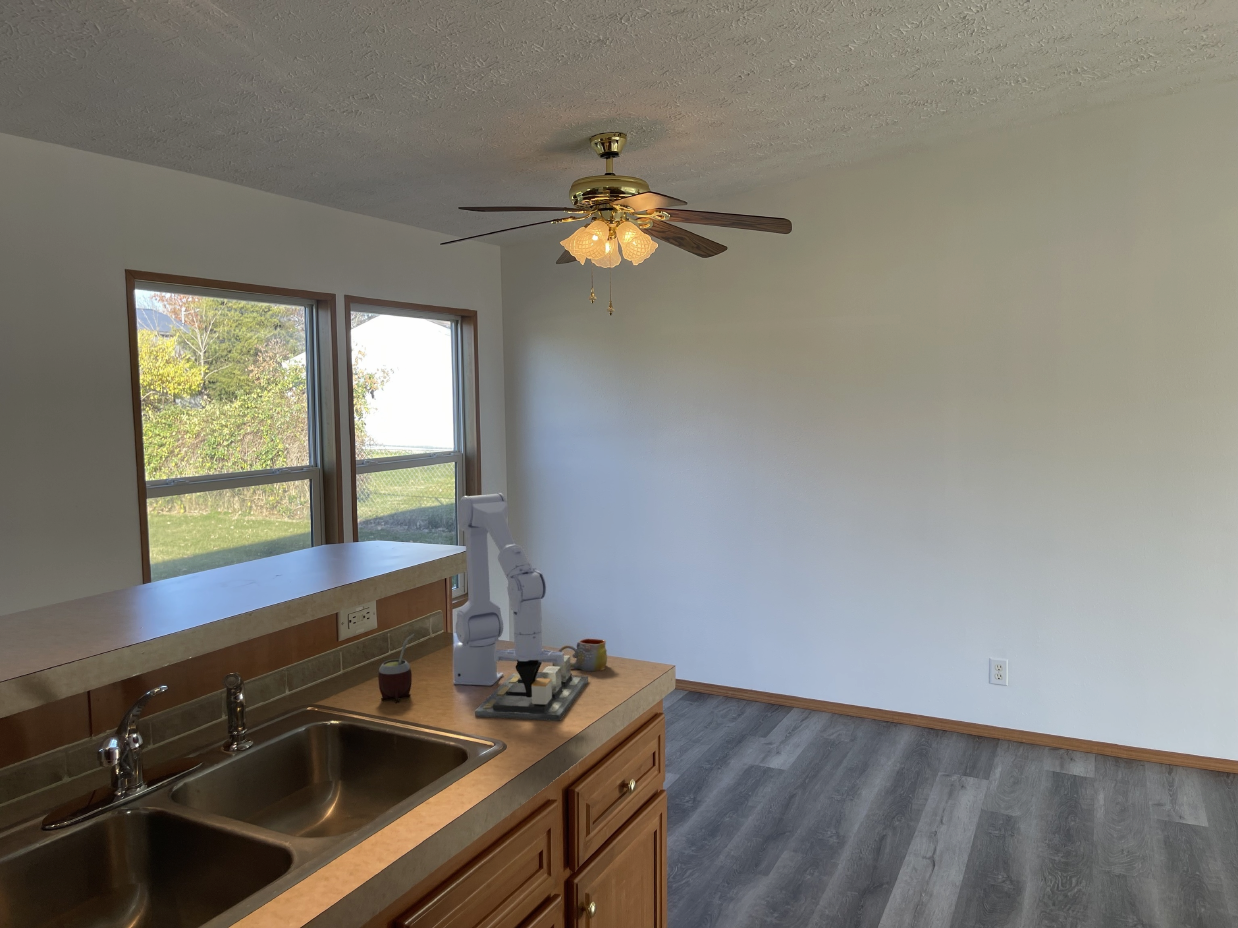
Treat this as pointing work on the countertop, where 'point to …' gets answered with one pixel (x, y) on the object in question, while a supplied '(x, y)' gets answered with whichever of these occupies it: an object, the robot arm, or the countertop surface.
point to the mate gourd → (395, 678)
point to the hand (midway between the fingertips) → (530, 695)
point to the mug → (589, 655)
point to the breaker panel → (518, 706)
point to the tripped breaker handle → (541, 691)
